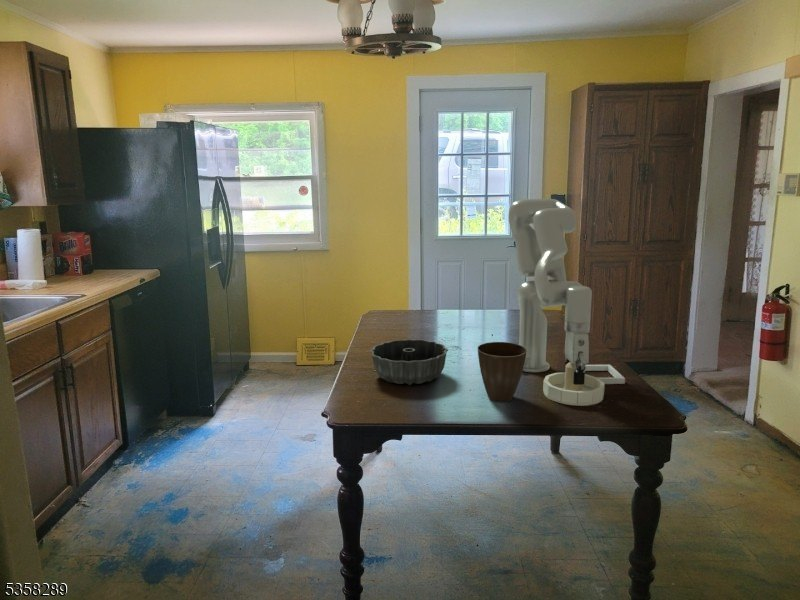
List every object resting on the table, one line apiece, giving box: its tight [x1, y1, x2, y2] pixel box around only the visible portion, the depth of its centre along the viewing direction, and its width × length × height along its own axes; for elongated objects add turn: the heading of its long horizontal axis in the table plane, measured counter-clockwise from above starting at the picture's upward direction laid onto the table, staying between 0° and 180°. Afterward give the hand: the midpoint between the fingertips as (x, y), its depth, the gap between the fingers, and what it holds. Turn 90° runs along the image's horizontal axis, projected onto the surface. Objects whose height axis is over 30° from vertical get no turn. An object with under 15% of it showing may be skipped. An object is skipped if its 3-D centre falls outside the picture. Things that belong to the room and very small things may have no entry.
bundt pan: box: [369, 338, 449, 386], centre depth 201 cm, size 26×26×10 cm
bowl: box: [542, 372, 606, 407], centre depth 184 cm, size 18×18×4 cm
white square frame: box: [585, 364, 626, 385], centre depth 200 cm, size 14×14×2 cm
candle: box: [564, 362, 583, 391], centre depth 183 cm, size 6×6×10 cm
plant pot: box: [477, 341, 527, 403], centre depth 180 cm, size 15×15×16 cm
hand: (573, 378), depth 183 cm, fingers open, 9 cm apart
